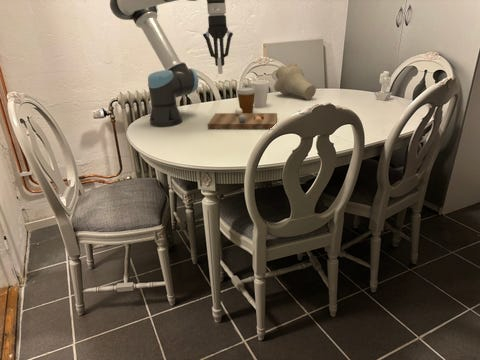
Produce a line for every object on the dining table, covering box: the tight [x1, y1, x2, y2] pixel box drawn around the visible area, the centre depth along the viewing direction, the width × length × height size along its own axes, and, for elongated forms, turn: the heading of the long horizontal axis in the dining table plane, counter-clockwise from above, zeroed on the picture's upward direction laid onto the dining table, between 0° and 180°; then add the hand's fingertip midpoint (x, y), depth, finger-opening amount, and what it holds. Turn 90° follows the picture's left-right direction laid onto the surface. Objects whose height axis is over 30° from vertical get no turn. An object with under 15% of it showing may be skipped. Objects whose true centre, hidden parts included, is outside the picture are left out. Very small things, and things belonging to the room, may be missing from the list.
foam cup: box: [250, 79, 270, 109], centre depth 189 cm, size 10×9×13 cm
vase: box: [273, 62, 317, 101], centre depth 204 cm, size 22×22×28 cm
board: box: [207, 112, 278, 130], centre depth 163 cm, size 30×18×2 cm, turn 83°
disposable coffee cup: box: [236, 86, 255, 113], centre depth 179 cm, size 10×10×12 cm
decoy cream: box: [234, 107, 242, 115], centre depth 167 cm, size 3×3×3 cm
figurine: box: [373, 70, 394, 101], centre depth 192 cm, size 7×9×15 cm
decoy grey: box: [238, 114, 246, 122], centre depth 156 cm, size 3×3×3 cm
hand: (220, 73), depth 157 cm, fingers closed
